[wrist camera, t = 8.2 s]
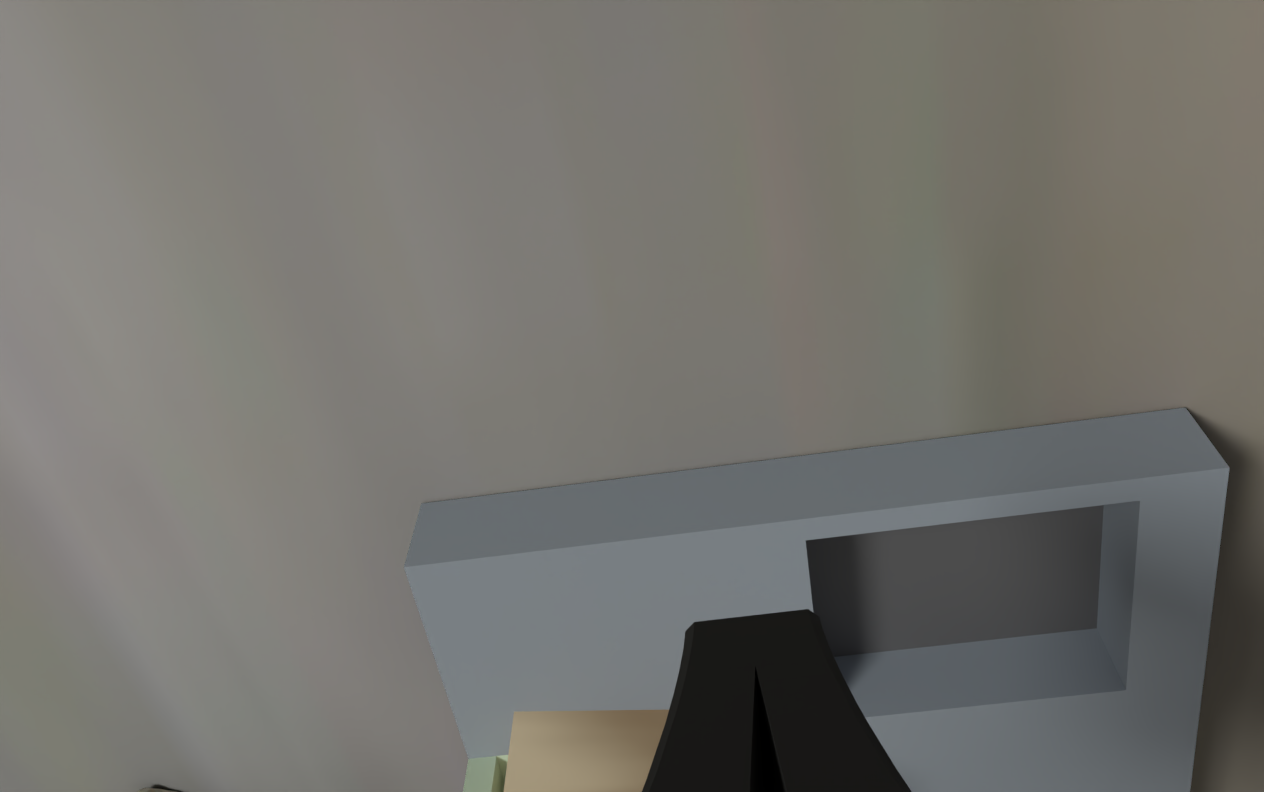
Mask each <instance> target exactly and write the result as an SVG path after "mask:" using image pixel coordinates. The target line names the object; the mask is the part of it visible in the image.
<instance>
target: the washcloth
mask: <svg viewBox="0 0 1264 792" xmlns="http://www.w3.org/2000/svg"><path fill="white" fill-rule="evenodd" d="M137 792H178V791H170V790H164V789H156V788H143V789H141V790H139V791H137Z"/></svg>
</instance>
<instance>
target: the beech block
mask: <svg viewBox="0 0 1264 792" xmlns="http://www.w3.org/2000/svg"><path fill="white" fill-rule="evenodd" d="M668 712H669V710H595V711H521V712H514V715H513V723H512V731H511V738H510V746H509V754H508V761H507V769H506V777H505V784H504V792H642V790H643V787H644V785H645V782H646V779H647V776H648V773H649V770H650V767H651V764H652V762H653V759H654V756H655V753H656V750H657V747H658V744H659V741H660V738H661V735H662V732H663V729H664V726H665V723H666V719H667V716H668Z"/></svg>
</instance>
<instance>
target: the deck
mask: <svg viewBox="0 0 1264 792" xmlns="http://www.w3.org/2000/svg"><path fill="white" fill-rule="evenodd" d="M1229 468H1230V467H1229V466H1228V465H1227V463H1226V462H1225V461H1224V459H1223V458H1222V457H1221V455H1220V454H1219V452H1218V451H1217V450H1216V448H1215V447H1214V446H1213V444H1212V443H1211V442H1210V440H1209V439H1208V437H1207V436H1206V435H1205V433H1204V432H1203V431H1202V429H1201V428H1200V427H1199V425H1198V424H1197V422H1196V421H1195V420H1194V418H1193V417H1192V416H1191V414H1190V413H1189V412H1188V410H1187V409H1186V407H1185V408H1177V409H1169V410H1161V411H1153V412H1145V413H1137V414H1129V415H1122V416H1114V417H1106V418H1098V419H1090V420H1082V421H1074V422H1066V423H1058V424H1050V425H1042V426H1034V427H1026V428H1018V429H1010V430H1002V431H994V432H986V433H978V434H970V435H963V436H955V437H947V438H939V439H931V440H923V441H915V442H907V443H899V444H891V445H883V446H875V447H867V448H859V449H851V450H843V451H835V452H827V453H819V454H812V455H804V456H796V457H788V458H780V459H772V460H764V461H756V462H748V463H740V464H732V465H724V466H716V467H708V468H700V469H692V470H684V471H676V472H668V473H660V474H653V475H645V476H637V477H629V478H621V479H613V480H605V481H597V482H589V483H581V484H573V485H565V486H557V487H549V488H541V489H533V490H525V491H517V492H509V493H501V494H494V495H486V496H478V497H470V498H462V499H454V500H446V501H438V502H430V503H422V504H421V507H420V511H419V514H418V518H417V522H416V525H415V529H414V533H413V536H412V540H411V543H410V547H409V551H408V554H407V558H406V562H405V565H404V569H405V572H406V575H407V578H408V581H409V584H410V587H411V590H412V593H413V596H414V599H415V601H416V604H417V607H418V610H419V613H420V616H421V619H422V622H423V625H424V628H425V631H426V634H427V637H428V640H429V643H430V646H431V649H432V652H433V655H434V658H435V661H436V664H437V667H438V670H439V673H440V676H441V679H442V682H443V685H444V688H445V690H446V693H447V696H448V699H449V702H450V705H451V708H452V711H453V714H454V717H455V720H456V723H457V726H458V729H459V732H460V735H461V738H462V741H463V744H464V747H465V750H466V753H467V756H468V765H467V771H466V777H465V783H464V789H463V792H504V784H505V777H506V769H507V761H508V754H509V746H510V738H511V731H512V723H513V715H514V712H521V711H595V710H669V709H670V705H671V701H672V698H673V694H674V690H675V686H676V682H677V678H678V674H679V669H680V664H681V659H682V654H683V648H684V639H685V631H686V630H687V629H688V628H689V627H690V626H691V625H692V624H693V623H694V622H698V621H707V620H716V619H724V618H733V617H742V616H751V615H760V614H768V613H777V612H786V611H795V610H804V609H809V610H810V611H812V612H813V613H815V614H816V615H818V616H819V617H820V621H821V625H822V628H823V631H824V634H825V636H826V639H827V642H828V644H829V647H830V649H831V651H832V654H833V656H834V658H835V661H836V663H837V665H838V667H839V669H840V671H841V673H842V675H843V677H844V679H845V681H846V683H847V685H848V687H849V689H850V691H851V693H852V695H853V696H854V698H855V700H856V702H857V704H858V706H859V708H860V709H861V711H862V713H863V715H864V716H865V718H866V720H867V722H868V723H869V725H870V727H871V728H872V730H873V732H874V733H875V735H876V736H877V738H878V740H879V741H880V743H881V745H882V746H883V748H884V749H885V751H886V753H887V754H888V756H889V758H890V759H891V761H892V762H893V764H894V766H895V767H896V769H897V770H898V772H899V773H900V775H901V776H902V778H903V779H904V781H905V782H906V784H907V785H908V787H909V788H910V790H911V791H912V792H1190V788H1191V780H1192V772H1193V764H1194V755H1195V747H1196V739H1197V731H1198V723H1199V714H1200V706H1201V698H1202V690H1203V682H1204V673H1205V665H1206V657H1207V649H1208V641H1209V632H1210V624H1211V616H1212V608H1213V600H1214V591H1215V583H1216V575H1217V567H1218V559H1219V550H1220V542H1221V534H1222V526H1223V518H1224V509H1225V501H1226V493H1227V485H1228V477H1229Z"/></svg>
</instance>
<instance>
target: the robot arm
mask: <svg viewBox="0 0 1264 792" xmlns="http://www.w3.org/2000/svg"><path fill="white" fill-rule="evenodd" d="M642 792H912V791H911V790H910V788H909V787H908V785H907V784H906V782H905V781H904V779H903V778H902V776H901V775H900V773H899V772H898V770H897V769H896V767H895V766H894V764H893V762H892V761H891V759H890V758H889V756H888V754H887V753H886V751H885V749H884V748H883V746H882V745H881V743H880V741H879V740H878V738H877V736H876V735H875V733H874V732H873V730H872V728H871V727H870V725H869V723H868V722H867V720H866V718H865V716H864V715H863V713H862V711H861V709H860V708H859V706H858V704H857V702H856V700H855V698H854V696H853V695H852V693H851V691H850V689H849V687H848V685H847V683H846V681H845V679H844V677H843V675H842V673H841V671H840V669H839V667H838V665H837V663H836V661H835V658H834V656H833V654H832V651H831V649H830V647H829V644H828V642H827V639H826V636H825V634H824V631H823V628H822V625H821V621H820V617H819V616H818V615H816V614H815V613H813V612H812V611H810V610H809V609H804V610H795V611H786V612H777V613H768V614H760V615H751V616H742V617H733V618H724V619H716V620H707V621H698V622H694V623H693V624H692V625H691V626H690V627H689V628H688V629H687V630H686V631H685V639H684V648H683V654H682V659H681V664H680V669H679V674H678V678H677V682H676V686H675V690H674V694H673V698H672V701H671V705H670V709H669V712H668V716H667V719H666V723H665V726H664V729H663V732H662V735H661V738H660V741H659V744H658V747H657V750H656V753H655V756H654V759H653V762H652V764H651V767H650V770H649V773H648V776H647V779H646V782H645V785H644V787H643V790H642Z"/></svg>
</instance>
